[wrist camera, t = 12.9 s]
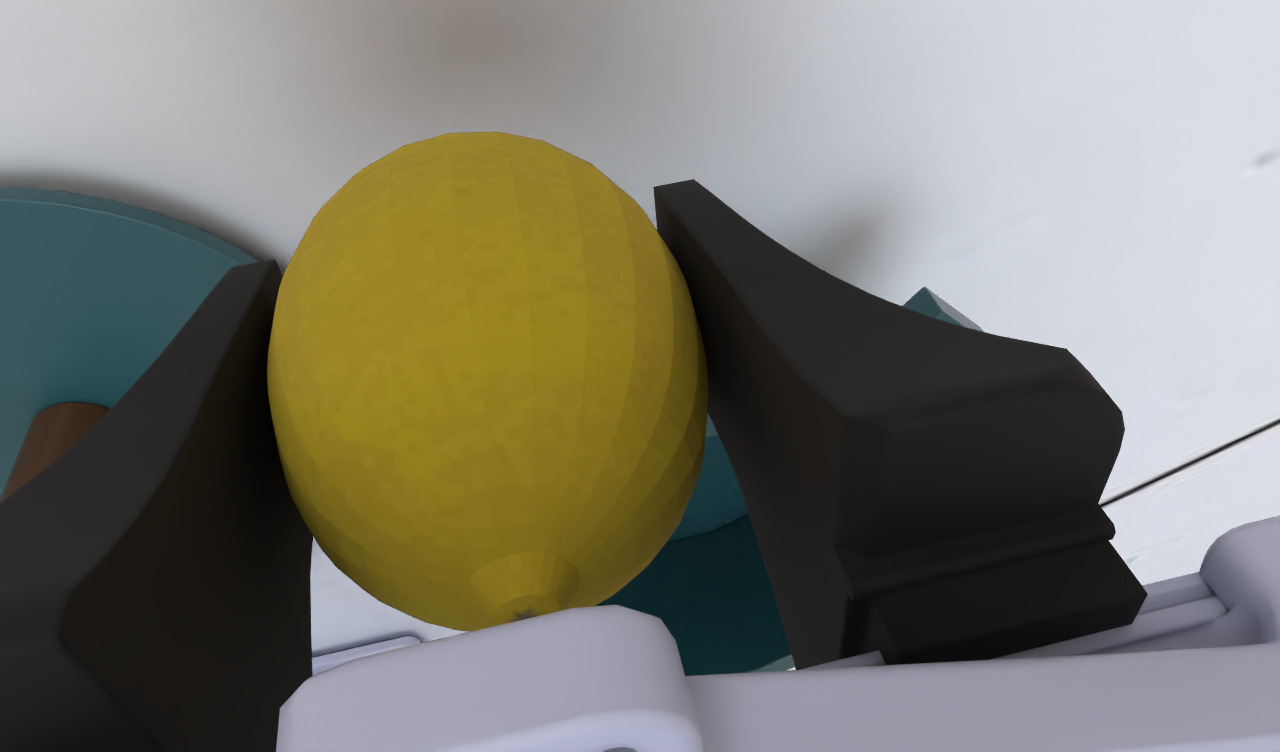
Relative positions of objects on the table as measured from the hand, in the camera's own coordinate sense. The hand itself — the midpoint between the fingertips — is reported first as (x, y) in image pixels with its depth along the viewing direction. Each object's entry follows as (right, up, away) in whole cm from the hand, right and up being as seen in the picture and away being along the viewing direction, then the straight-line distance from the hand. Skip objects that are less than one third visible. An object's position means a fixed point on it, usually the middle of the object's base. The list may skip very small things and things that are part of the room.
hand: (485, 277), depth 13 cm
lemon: (-1, +1, +2) cm, 2 cm away
